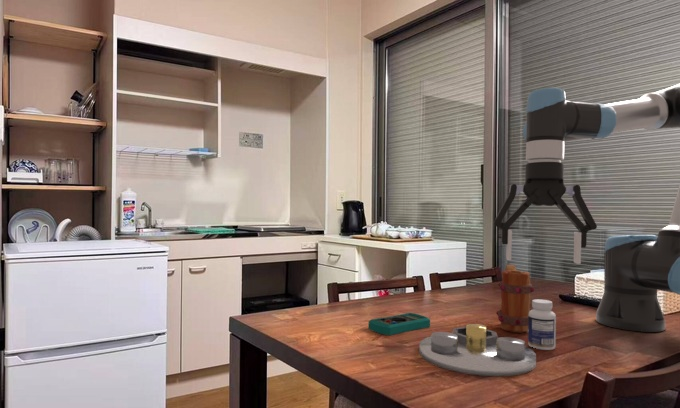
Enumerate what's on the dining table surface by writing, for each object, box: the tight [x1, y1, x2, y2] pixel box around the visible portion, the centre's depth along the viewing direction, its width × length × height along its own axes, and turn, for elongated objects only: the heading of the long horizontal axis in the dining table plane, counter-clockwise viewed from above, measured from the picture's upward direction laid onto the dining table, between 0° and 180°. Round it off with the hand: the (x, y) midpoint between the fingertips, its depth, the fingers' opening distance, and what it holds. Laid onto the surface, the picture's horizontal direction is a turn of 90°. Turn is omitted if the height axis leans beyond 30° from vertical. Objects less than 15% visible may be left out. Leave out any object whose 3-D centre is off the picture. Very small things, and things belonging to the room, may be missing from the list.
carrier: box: [418, 323, 537, 377], centre depth 92 cm, size 22×22×6 cm
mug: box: [495, 264, 535, 334], centre depth 115 cm, size 15×8×15 cm, turn 168°
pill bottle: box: [527, 298, 557, 351], centre depth 100 cm, size 5×5×10 cm
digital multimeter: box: [368, 312, 431, 337], centre depth 113 cm, size 7×15×3 cm, turn 127°
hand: (542, 261), depth 100 cm, fingers open, 13 cm apart
